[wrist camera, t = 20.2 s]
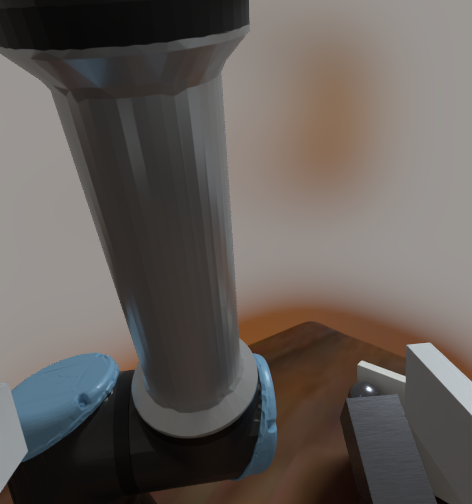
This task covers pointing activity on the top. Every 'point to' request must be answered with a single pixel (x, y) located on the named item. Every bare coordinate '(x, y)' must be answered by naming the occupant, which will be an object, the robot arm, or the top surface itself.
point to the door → (396, 385)
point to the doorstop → (383, 449)
